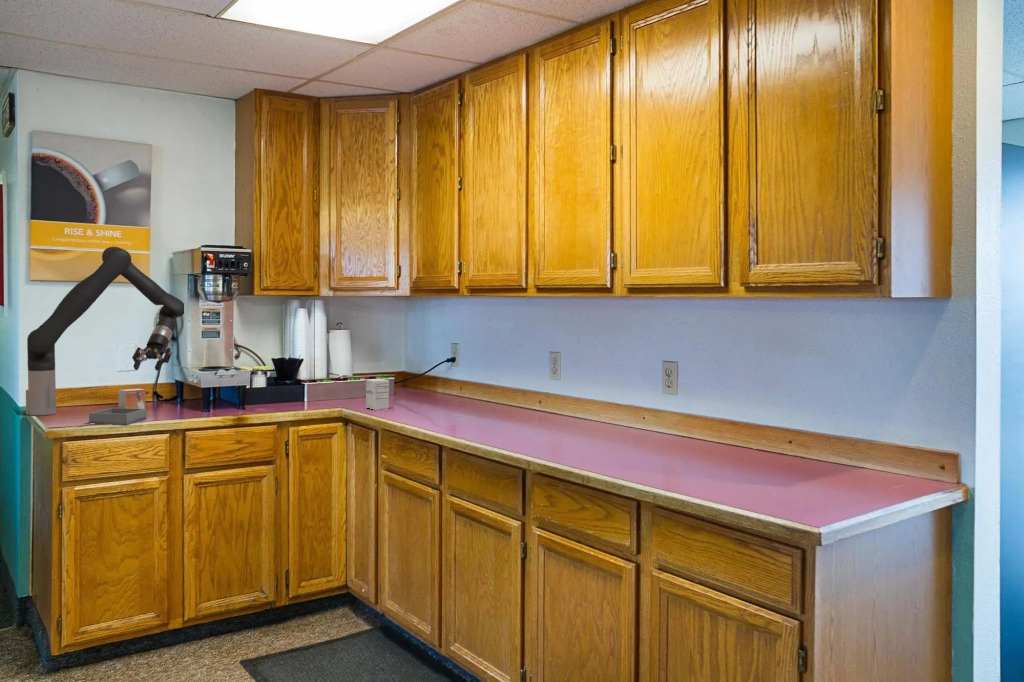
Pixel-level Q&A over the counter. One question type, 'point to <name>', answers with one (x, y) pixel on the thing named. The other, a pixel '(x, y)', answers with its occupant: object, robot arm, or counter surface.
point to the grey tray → (117, 416)
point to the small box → (131, 398)
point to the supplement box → (377, 393)
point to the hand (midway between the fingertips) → (145, 369)
